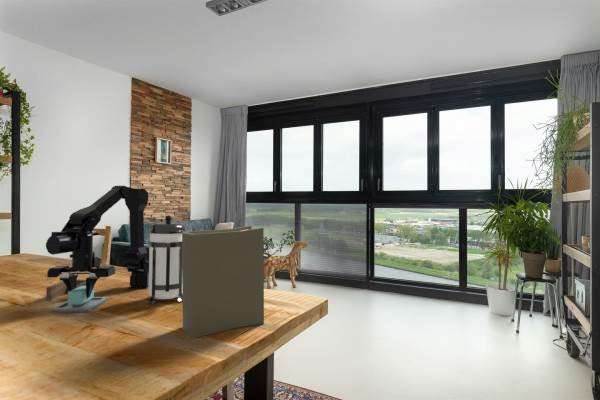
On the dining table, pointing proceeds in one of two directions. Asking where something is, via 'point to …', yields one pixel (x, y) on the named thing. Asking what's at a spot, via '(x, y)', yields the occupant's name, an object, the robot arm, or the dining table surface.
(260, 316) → the book
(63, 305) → the tray
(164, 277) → the coffee press
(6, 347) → the dining table surface
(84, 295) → the block
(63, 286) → the bay
